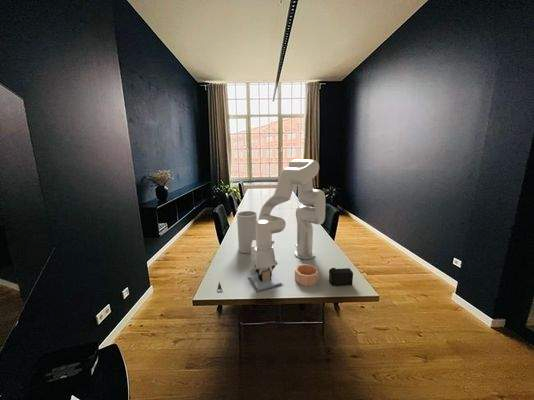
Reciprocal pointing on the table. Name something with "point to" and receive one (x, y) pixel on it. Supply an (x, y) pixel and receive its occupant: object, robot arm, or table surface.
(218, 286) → the smartphone
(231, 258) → the table surface
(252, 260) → the supplement box
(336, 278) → the digital camera
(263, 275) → the lid
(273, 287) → the mat
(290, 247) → the table surface
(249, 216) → the cylinder vase
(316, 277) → the bowl
